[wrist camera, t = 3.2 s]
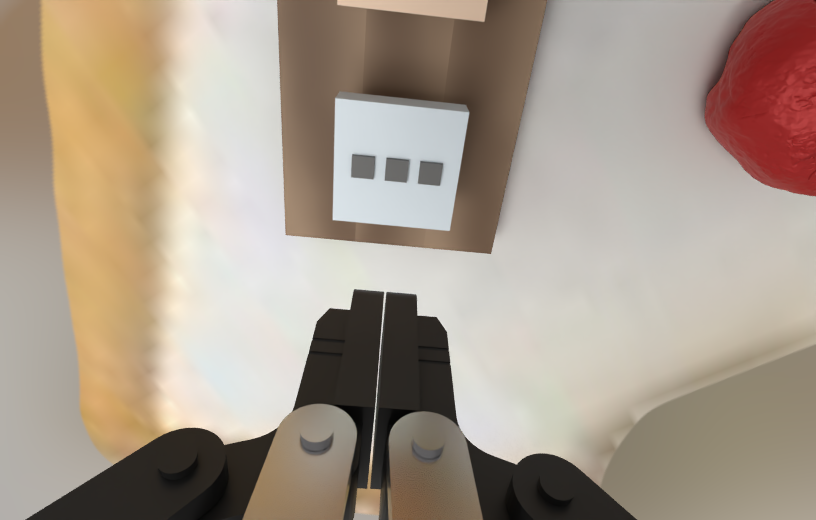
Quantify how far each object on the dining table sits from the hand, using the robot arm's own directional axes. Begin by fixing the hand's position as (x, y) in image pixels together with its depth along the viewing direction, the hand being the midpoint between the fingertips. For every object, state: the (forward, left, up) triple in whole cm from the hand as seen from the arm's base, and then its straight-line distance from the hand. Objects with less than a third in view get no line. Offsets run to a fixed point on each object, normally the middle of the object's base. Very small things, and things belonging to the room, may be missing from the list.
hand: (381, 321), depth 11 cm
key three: (0, 0, -15) cm, 15 cm away
